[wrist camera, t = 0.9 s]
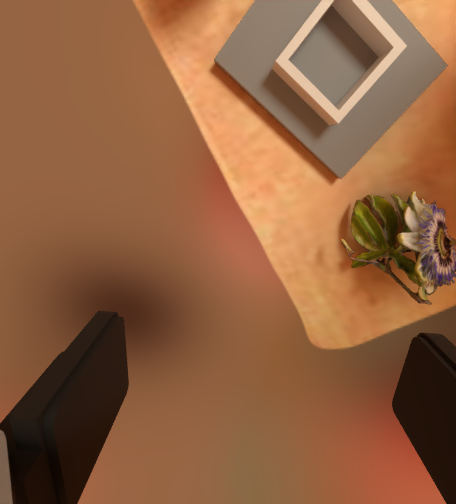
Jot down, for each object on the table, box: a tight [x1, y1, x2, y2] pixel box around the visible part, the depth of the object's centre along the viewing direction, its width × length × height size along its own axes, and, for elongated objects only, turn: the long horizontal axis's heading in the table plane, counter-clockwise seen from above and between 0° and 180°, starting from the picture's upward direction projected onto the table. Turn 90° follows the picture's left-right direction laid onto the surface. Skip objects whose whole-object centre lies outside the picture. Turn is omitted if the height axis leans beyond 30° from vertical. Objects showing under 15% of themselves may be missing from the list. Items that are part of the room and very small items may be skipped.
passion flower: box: [341, 191, 456, 305], centre depth 33 cm, size 11×11×12 cm
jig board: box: [214, 0, 448, 179], centre depth 28 cm, size 14×18×4 cm
